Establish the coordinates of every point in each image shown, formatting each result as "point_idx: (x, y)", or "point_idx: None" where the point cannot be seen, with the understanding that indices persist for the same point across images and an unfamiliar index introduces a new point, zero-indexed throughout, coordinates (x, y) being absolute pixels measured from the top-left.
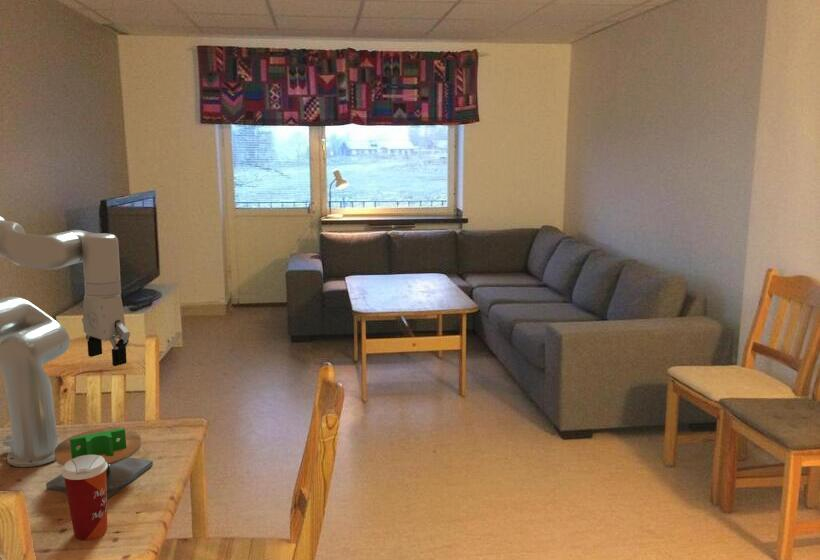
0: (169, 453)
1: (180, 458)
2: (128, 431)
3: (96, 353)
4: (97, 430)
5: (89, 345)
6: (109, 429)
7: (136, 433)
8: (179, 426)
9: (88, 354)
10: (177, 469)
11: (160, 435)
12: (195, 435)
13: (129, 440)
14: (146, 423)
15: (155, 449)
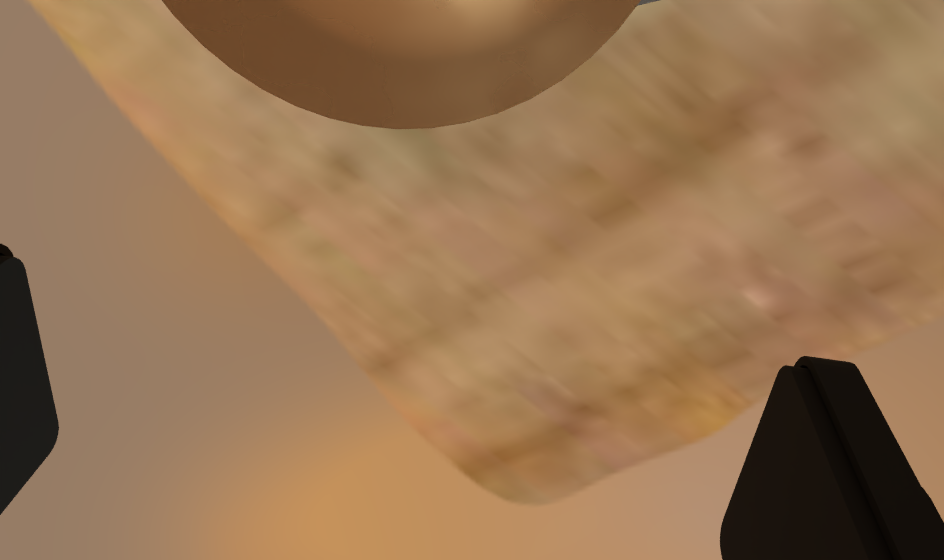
0: (345, 217)
1: (254, 204)
2: (398, 106)
3: (752, 478)
4: (609, 4)
5: (880, 549)
6: (545, 63)
7: (326, 111)
8: (545, 431)
9: (857, 380)
10: (161, 114)
11: (550, 331)
12: (401, 397)
13: (263, 6)
14: (724, 392)
15: (443, 215)
